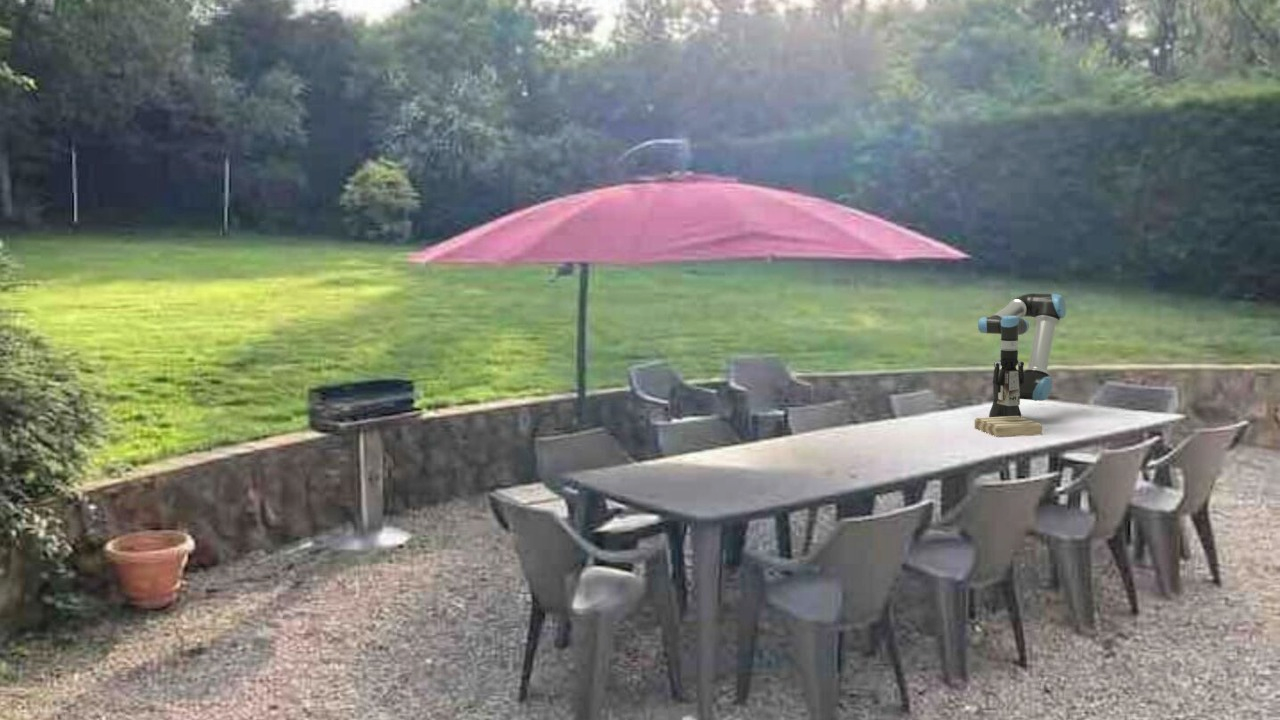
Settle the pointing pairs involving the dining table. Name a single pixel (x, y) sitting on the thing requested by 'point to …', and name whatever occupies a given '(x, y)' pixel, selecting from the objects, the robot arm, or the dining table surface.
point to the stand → (1008, 426)
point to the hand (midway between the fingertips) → (1008, 399)
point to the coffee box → (1010, 388)
